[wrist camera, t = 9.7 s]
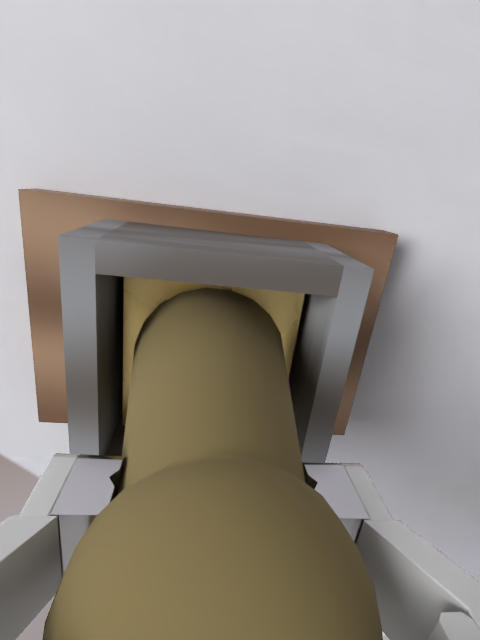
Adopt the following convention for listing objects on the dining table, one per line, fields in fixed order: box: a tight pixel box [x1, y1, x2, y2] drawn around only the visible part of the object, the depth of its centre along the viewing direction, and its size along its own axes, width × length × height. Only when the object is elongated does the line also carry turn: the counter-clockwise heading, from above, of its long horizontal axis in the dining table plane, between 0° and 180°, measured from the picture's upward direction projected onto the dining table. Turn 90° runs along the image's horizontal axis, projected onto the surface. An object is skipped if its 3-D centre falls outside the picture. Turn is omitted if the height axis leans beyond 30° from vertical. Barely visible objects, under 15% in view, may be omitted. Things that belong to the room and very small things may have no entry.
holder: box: [18, 189, 398, 463], centre depth 15 cm, size 11×16×6 cm
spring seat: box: [123, 277, 305, 425], centre depth 15 cm, size 7×7×1 cm
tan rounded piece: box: [43, 287, 383, 640], centre depth 9 cm, size 6×6×11 cm
